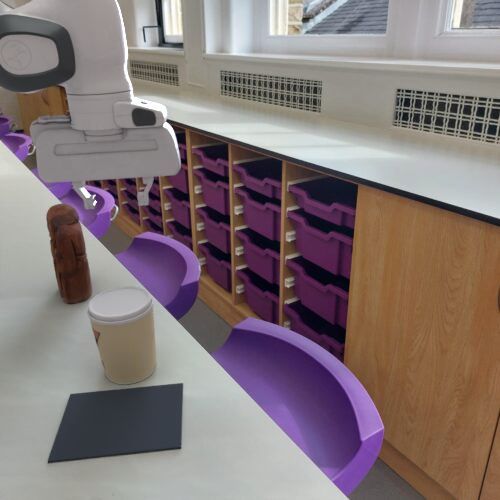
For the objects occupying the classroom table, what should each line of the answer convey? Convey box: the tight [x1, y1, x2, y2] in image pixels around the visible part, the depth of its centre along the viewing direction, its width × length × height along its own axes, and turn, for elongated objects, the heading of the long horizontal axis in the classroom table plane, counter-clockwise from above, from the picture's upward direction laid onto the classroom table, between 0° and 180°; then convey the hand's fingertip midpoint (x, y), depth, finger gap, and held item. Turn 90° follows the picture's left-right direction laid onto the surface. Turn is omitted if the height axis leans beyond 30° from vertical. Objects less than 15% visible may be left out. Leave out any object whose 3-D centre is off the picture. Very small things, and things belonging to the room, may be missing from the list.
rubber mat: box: [47, 382, 184, 464], centre depth 65 cm, size 16×12×1 cm
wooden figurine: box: [45, 202, 93, 304], centre depth 94 cm, size 12×6×18 cm, turn 25°
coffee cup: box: [86, 285, 157, 385], centre depth 72 cm, size 9×9×12 cm
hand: (117, 206), depth 74 cm, fingers open, 6 cm apart
